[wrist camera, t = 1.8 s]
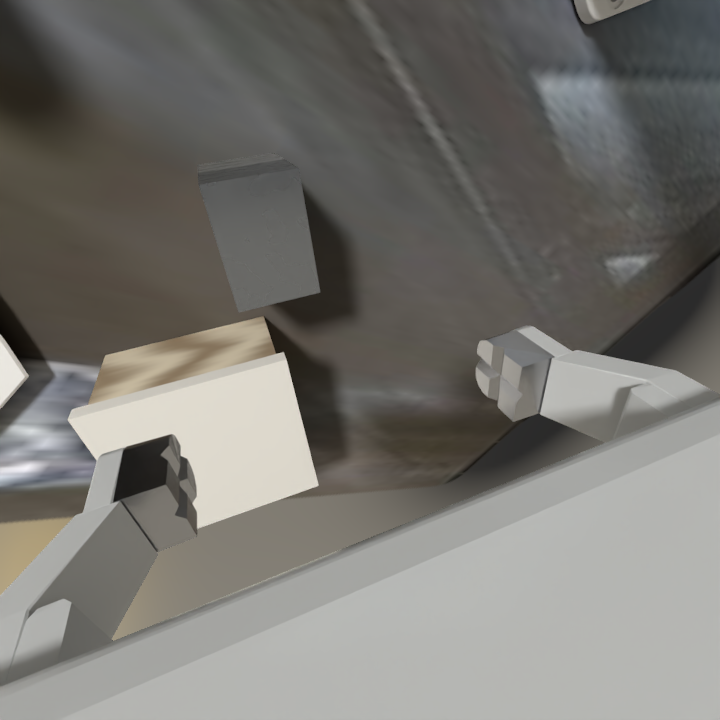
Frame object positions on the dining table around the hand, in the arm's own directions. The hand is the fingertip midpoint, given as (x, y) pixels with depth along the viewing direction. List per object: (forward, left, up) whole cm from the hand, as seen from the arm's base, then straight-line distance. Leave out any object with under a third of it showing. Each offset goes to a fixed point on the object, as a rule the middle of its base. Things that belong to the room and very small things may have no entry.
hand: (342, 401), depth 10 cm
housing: (0, 0, -22) cm, 22 cm away
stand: (+7, +14, -22) cm, 27 cm away
